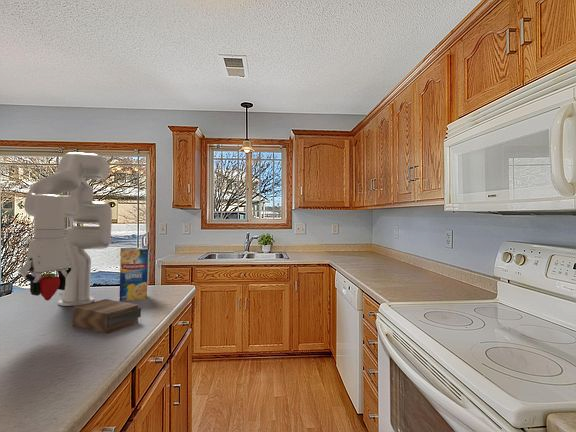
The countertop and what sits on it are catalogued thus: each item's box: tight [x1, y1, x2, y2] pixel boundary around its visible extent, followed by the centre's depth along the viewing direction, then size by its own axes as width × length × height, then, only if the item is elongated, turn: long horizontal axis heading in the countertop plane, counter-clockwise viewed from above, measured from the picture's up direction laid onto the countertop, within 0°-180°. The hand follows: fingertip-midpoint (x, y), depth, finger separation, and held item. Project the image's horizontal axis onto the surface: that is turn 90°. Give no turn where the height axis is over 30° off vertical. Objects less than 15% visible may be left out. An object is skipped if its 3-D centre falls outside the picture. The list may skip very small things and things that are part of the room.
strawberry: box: [38, 272, 60, 301], centre depth 101 cm, size 6×8×10 cm
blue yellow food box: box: [118, 247, 149, 302], centre depth 144 cm, size 7×11×22 cm, turn 117°
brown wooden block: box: [72, 298, 142, 334], centre depth 110 cm, size 17×12×6 cm
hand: (48, 291), depth 101 cm, fingers closed on strawberry, 6 cm apart
